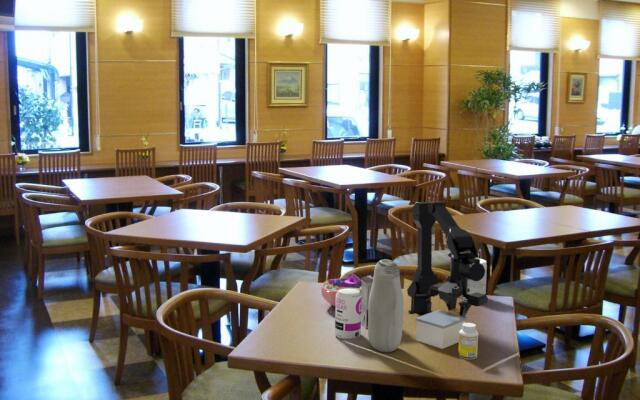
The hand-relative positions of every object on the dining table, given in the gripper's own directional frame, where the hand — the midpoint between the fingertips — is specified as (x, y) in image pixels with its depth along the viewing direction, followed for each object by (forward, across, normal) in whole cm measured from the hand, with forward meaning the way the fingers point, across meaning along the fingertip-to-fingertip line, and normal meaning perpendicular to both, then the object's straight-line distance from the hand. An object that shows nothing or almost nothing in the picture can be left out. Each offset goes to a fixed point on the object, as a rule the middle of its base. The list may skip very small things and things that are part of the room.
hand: (456, 320), depth 232 cm
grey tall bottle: (+5, -7, -28) cm, 29 cm away
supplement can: (+5, -23, -27) cm, 36 cm away
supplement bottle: (+5, +14, -14) cm, 20 cm away
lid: (0, 0, -6) cm, 6 cm away
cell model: (+5, -45, -4) cm, 45 cm away
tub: (+5, 0, -9) cm, 10 cm away
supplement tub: (+5, -20, +40) cm, 45 cm away
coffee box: (+5, -24, -12) cm, 27 cm away
